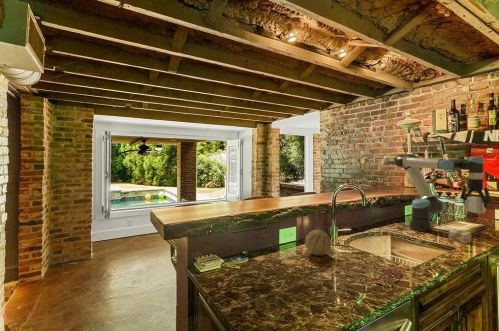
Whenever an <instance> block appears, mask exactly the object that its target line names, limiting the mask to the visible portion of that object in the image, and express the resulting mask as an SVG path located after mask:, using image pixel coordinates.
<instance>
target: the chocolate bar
mask: <svg viewBox="0 0 499 331" xmlns="http://www.w3.org/2000/svg"><path fill="white" fill-rule="evenodd" d="M389 270H390V271H389ZM388 271H389V272H391V273H388ZM393 271H394V272H393ZM398 272H399V273H398ZM386 273H388V274H389V275H388V277H387V279H386V276H384V275H387V274H386ZM394 273H395V274H396V275H395V274H394ZM401 273H402V274H403V275H404V272H402V271H401V270H397V269H391V267H387V268H386V269H385V270H384V271H383V273H381V274H380V275H379V276H378V277H379V278H378V277H377V278H376V279H377V281H376V280H375V281H376V282H380V281H379V280H380V279H381V278H382V277H383V276H384V277H385V278H383V279H386V280H384V282H386V281H387V280H388V279H389V278H390V277H394V276H392V275H395V277H394V278H396V279H399V278H398V275H399V274H400V275H402V274H401ZM391 274H392V275H391ZM403 275H402V276H403ZM399 277H401V276H399ZM401 278H402V277H401ZM390 279H393V278H390ZM396 279H393V280H396ZM393 280H392V281H391V280H388V281H387V283H390V284H392V283H391V282H394V281H393ZM399 280H400V279H399ZM396 281H397V280H396ZM397 282H398V281H397ZM381 283H383V282H382V281H381ZM387 283H385V285H387Z"/></svg>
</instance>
